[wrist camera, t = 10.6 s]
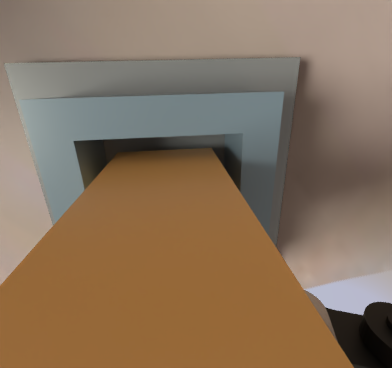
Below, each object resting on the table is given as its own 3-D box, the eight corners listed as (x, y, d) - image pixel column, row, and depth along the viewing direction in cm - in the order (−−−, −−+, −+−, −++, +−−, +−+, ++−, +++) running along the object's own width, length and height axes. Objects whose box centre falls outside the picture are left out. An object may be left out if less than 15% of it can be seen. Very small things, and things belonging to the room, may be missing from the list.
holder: (290, 59, 12) (349, 44, 8) (267, 265, 18) (296, 319, 14) (17, 65, 11) (-72, 50, 7) (79, 282, 17) (48, 345, 13)
